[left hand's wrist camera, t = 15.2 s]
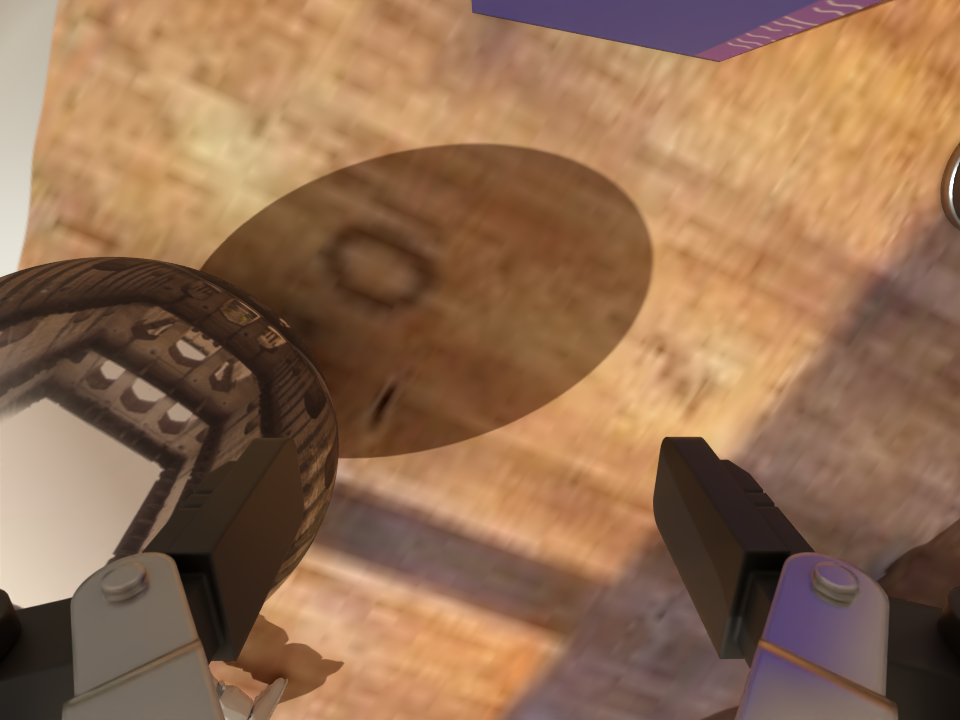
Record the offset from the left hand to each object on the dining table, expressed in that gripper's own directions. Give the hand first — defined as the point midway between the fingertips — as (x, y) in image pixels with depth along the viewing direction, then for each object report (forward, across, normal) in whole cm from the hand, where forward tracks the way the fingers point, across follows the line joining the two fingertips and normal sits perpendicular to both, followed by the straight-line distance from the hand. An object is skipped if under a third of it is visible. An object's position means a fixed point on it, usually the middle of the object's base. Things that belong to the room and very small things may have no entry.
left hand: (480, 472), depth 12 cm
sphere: (+32, -22, -12) cm, 41 cm away
